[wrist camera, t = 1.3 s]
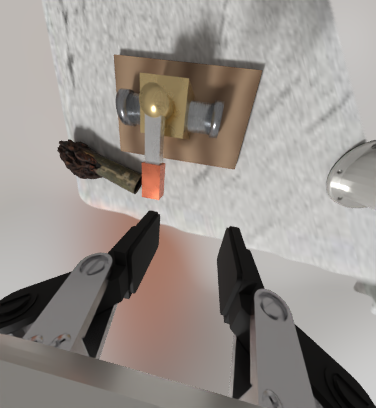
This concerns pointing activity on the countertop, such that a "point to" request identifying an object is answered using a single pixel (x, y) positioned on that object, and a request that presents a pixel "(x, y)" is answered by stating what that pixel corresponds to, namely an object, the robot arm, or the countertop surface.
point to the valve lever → (154, 137)
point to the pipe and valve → (182, 108)
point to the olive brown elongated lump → (97, 166)
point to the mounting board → (204, 92)
